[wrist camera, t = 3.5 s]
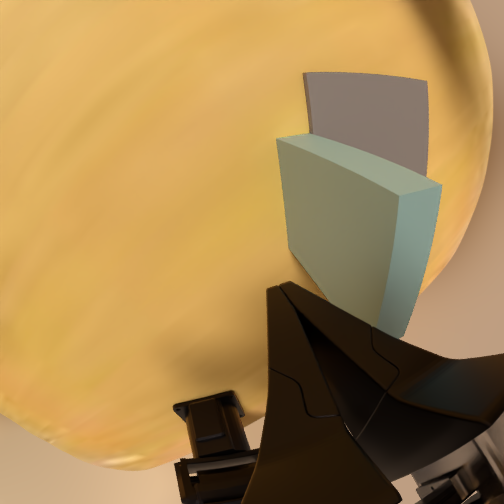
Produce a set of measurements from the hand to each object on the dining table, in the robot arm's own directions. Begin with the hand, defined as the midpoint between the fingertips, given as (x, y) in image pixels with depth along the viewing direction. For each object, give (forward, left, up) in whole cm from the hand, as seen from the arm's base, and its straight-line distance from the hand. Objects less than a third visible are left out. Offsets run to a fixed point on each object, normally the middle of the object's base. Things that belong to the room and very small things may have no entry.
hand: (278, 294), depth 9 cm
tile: (0, -4, -7) cm, 8 cm away
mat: (0, -10, -7) cm, 12 cm away
